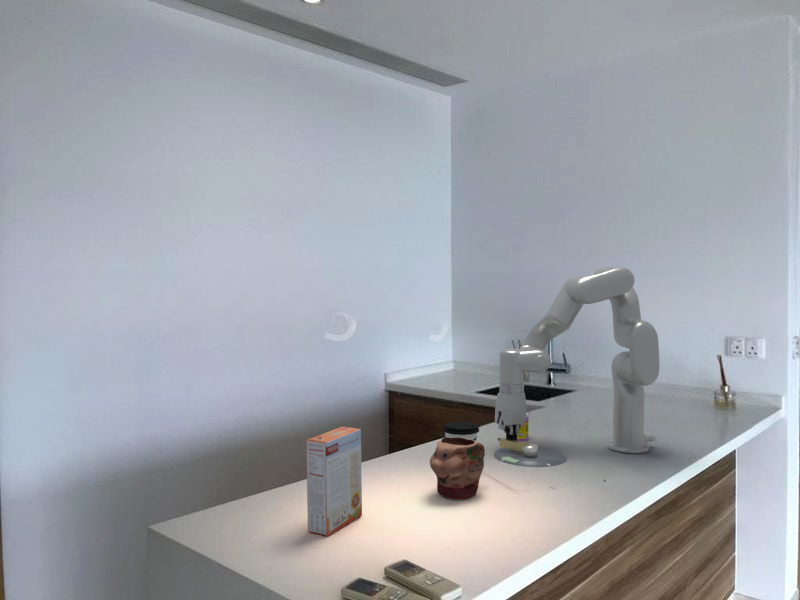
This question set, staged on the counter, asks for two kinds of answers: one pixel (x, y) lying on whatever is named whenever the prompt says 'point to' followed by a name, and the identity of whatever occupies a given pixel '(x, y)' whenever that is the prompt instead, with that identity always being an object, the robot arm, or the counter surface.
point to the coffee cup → (461, 430)
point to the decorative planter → (458, 467)
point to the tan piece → (519, 446)
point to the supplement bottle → (523, 431)
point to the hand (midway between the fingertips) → (511, 445)
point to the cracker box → (334, 480)
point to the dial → (531, 458)
